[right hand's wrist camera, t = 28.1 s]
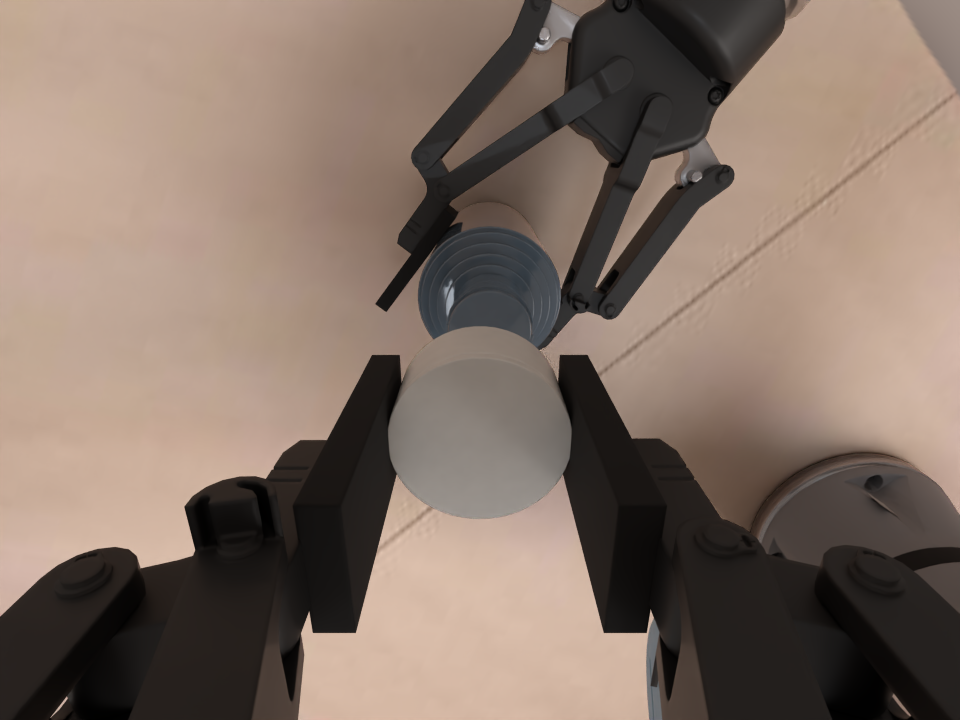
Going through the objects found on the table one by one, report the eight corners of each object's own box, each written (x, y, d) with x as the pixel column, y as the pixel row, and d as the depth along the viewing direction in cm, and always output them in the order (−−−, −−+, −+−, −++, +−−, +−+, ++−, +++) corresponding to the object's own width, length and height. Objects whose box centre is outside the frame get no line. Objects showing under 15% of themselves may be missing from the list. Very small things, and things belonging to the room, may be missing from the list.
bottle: (430, 286, 37) (388, 388, 21) (452, 190, 34) (422, 223, 19) (521, 309, 37) (547, 425, 22) (549, 216, 35) (601, 269, 19)
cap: (588, 366, 14) (607, 405, 12) (513, 488, 16) (518, 542, 14) (440, 297, 14) (433, 325, 11) (376, 432, 15) (359, 479, 13)
